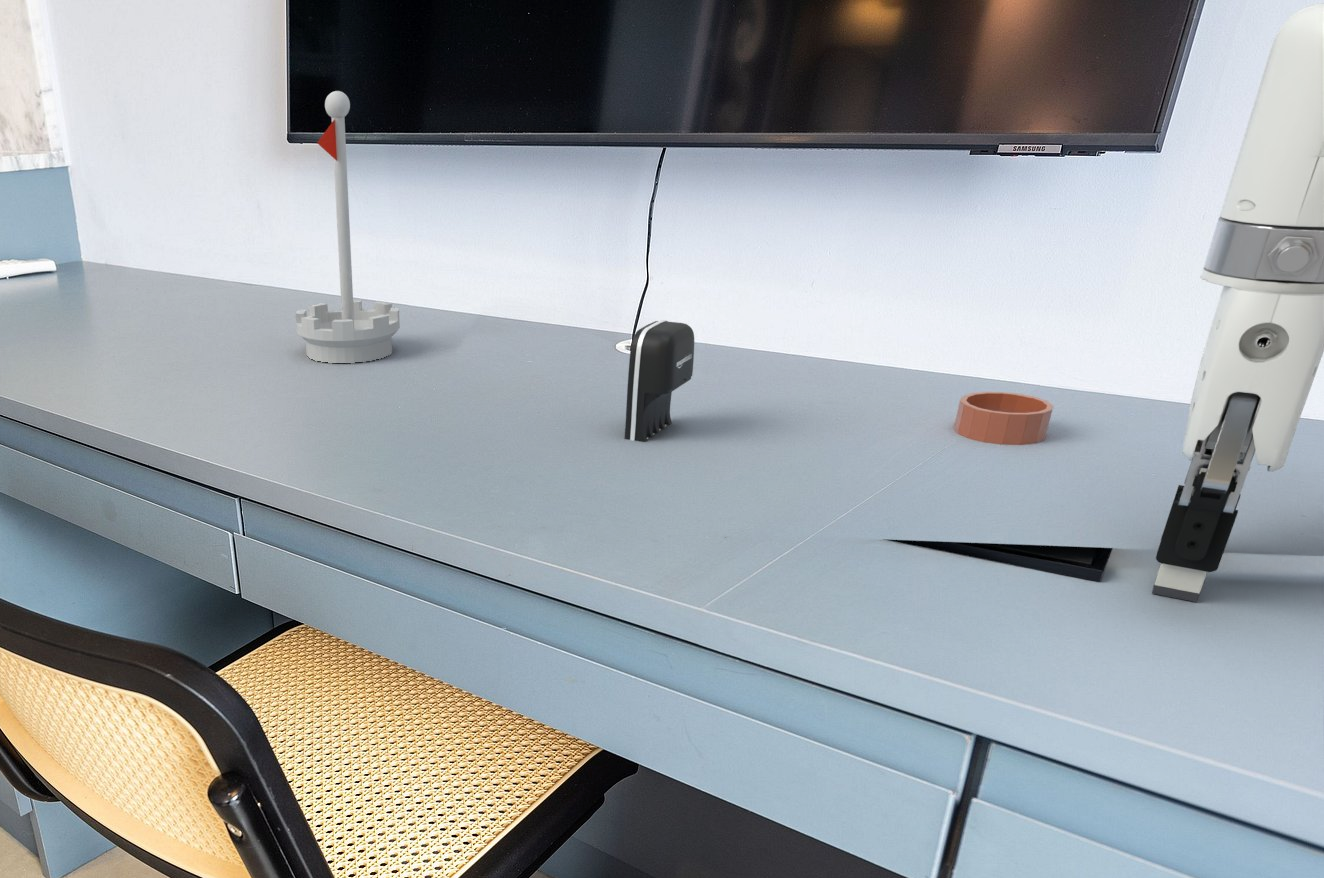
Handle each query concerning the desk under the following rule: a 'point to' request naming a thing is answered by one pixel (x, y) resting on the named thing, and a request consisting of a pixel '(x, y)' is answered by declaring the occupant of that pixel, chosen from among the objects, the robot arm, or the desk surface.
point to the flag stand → (345, 276)
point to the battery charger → (656, 375)
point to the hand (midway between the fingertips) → (1187, 555)
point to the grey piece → (1179, 580)
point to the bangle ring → (1003, 418)
